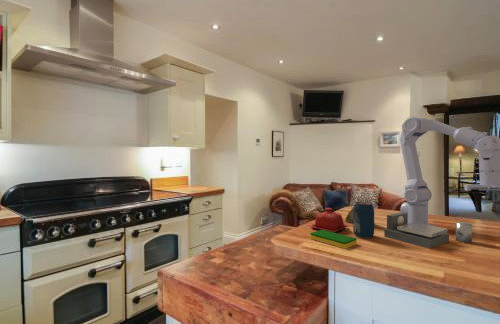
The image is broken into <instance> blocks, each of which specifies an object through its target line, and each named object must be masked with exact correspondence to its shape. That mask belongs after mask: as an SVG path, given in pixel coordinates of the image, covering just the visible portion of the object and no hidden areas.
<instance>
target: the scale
mask: <svg viewBox="0 0 500 324" xmlns="http://www.w3.org/2000/svg"><path fill="white" fill-rule="evenodd" d="M402 224H403V225H405V224H408V213H406V212H396V213H391V214H390V213H389V214H387V215H386V229H383V230H384V231H383V232H384V233H383V234H384V235H383V237H385V238H389V239H393V240H397V241H400V242H404V243H408V244H412V245H415V246H418V247H423V248H425V249H426V248H427V249H432V248H434V247H437V246H440V245H442V244H446V243H448V242H450V233H448V232H446V233H443V234H440V235H437V236H434V237H428V236H423V235H419V234H415V233H410V232H406V231H402V230H397V226H401V225H402ZM445 242H446V243H445Z"/></svg>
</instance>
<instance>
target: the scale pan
mask: <svg viewBox="0 0 500 324" xmlns="http://www.w3.org/2000/svg"><path fill="white" fill-rule="evenodd" d="M397 230H402V231H406V232H410V233H415V234H419V235H423V236H428V237H434V236H437V235H440V234H443V233H448V232H449V229H448V228H445V227H439V226H434V225H432V226H430V225H425V224H420V223H415V222H413V223H409V224H405V225H403V224H402V225H401V226H397Z"/></svg>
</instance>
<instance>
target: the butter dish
mask: <svg viewBox="0 0 500 324" xmlns="http://www.w3.org/2000/svg"><path fill="white" fill-rule="evenodd" d="M309 227H310V228H312V229H316V230H325V231H329V232H333V233H336V232H338V231H341V230H343V229H345V228H348V225H347V224H345V223H344V220H343V216H342V214H340V213H339V212H335V211H334V212H333V208H332V207H326V208H325V211H323V212H320V213H318V214H317V215H316V216H315V221H314V224H312V225H310V226H309Z"/></svg>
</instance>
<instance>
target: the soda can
mask: <svg viewBox="0 0 500 324" xmlns="http://www.w3.org/2000/svg"><path fill="white" fill-rule="evenodd" d="M354 203H355V204H354V206H353V207H354V215H353V223H352V224H353V228H352V229H353V230H352V232H353V234H354V236H356V238H360V239H372V238H373V237H374V235H375V224H374V223H375V207H374V205H373V202H370V201H363V202H360V201H356V202H354Z"/></svg>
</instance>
